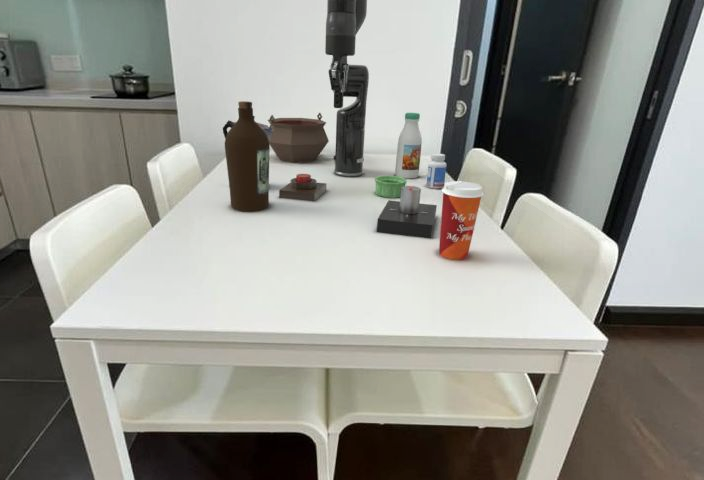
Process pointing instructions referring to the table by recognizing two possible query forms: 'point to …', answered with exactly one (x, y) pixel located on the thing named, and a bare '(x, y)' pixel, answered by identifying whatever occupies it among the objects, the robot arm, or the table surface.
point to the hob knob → (410, 199)
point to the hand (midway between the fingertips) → (338, 107)
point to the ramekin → (389, 186)
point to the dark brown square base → (303, 190)
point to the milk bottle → (409, 148)
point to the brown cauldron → (297, 138)
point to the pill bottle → (436, 171)
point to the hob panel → (407, 220)
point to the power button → (303, 178)
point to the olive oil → (247, 162)
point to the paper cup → (458, 218)
